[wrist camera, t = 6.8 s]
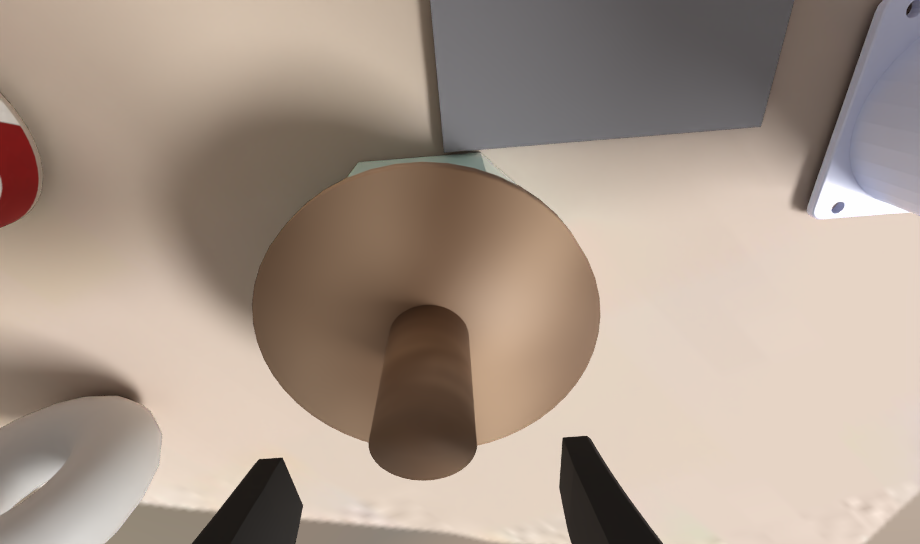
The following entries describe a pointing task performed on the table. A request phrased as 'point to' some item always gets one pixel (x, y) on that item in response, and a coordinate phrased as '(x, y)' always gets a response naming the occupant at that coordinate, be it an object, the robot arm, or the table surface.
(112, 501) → the donut
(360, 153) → the table surface
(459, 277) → the lid
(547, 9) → the mat
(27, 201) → the soda can
